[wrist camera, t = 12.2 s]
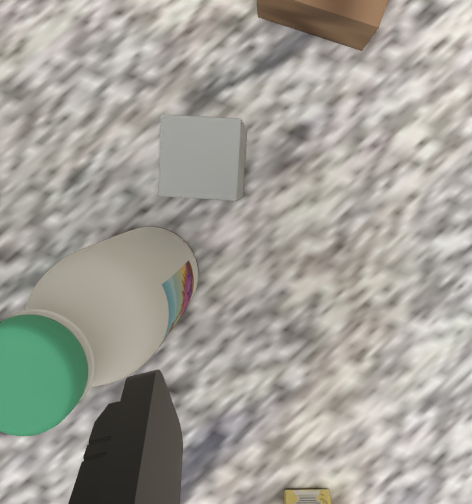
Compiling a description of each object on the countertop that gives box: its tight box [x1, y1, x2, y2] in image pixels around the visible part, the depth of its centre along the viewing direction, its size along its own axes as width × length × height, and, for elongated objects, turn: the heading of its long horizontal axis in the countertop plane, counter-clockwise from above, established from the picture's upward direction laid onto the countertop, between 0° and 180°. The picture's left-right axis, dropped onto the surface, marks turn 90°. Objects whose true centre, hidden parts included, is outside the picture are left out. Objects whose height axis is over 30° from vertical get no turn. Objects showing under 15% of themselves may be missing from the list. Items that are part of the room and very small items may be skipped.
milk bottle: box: [0, 227, 198, 436], centre depth 26 cm, size 8×8×20 cm
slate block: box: [158, 115, 247, 201], centre depth 31 cm, size 5×5×7 cm
